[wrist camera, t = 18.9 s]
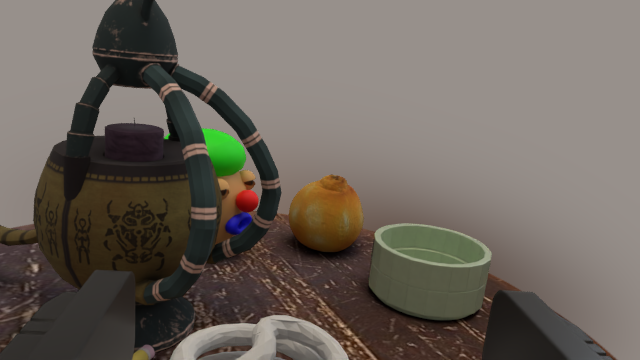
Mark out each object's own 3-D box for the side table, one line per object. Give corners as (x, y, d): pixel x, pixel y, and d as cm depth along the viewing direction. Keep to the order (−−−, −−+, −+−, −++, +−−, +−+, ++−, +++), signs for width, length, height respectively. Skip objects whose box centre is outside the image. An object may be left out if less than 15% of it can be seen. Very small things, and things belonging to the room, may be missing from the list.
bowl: (484, 286, 50) (494, 238, 49) (476, 336, 41) (488, 277, 39) (382, 262, 53) (389, 216, 52) (353, 302, 44) (360, 247, 43)
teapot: (190, 409, 29) (213, -26, 24) (-113, 300, 37) (-150, -50, 31) (277, 316, 40) (306, 5, 35) (31, 247, 48) (22, -18, 42)
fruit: (375, 245, 51) (368, 168, 53) (294, 248, 50) (290, 169, 52) (358, 256, 59) (353, 189, 61) (287, 259, 58) (284, 190, 60)
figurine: (125, 248, 50) (127, 125, 47) (188, 222, 59) (193, 117, 56) (223, 278, 46) (232, 146, 43) (276, 246, 54) (286, 134, 52)
